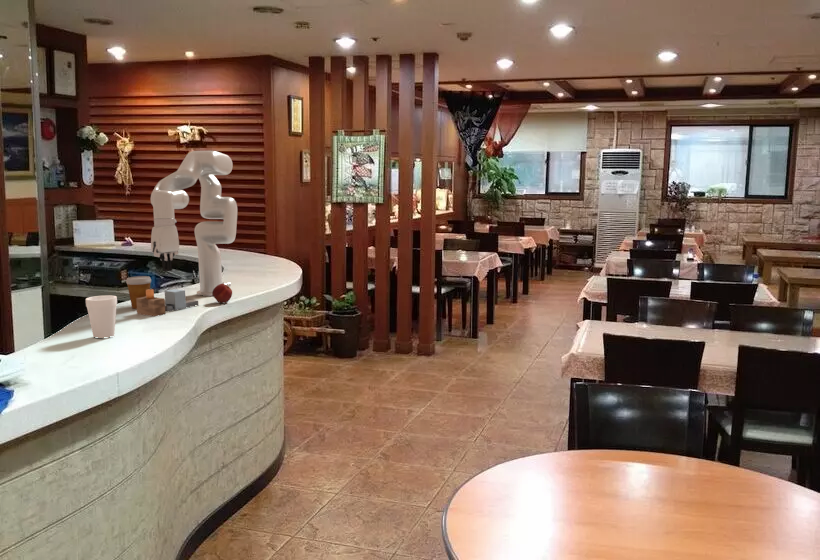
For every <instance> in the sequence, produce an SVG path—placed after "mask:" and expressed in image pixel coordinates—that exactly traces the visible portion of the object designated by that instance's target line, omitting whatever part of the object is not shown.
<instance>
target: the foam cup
mask: <svg viewBox="0 0 820 560" xmlns="http://www.w3.org/2000/svg"><path fill="white" fill-rule="evenodd" d="M117 298H118V297H117V296H116V295H111V294H110V295H109V294H108V295H95V296H90V297H86V298H85V307H86V309H87V313H88V318H89V322H90V327H91V331H92V335H93V338H94V337H98V338H104V337H110V336H114V337H115V331H116V317H117V316H116V314H117V305H118V299H117Z"/></svg>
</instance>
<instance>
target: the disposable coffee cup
mask: <svg viewBox="0 0 820 560" xmlns="http://www.w3.org/2000/svg"><path fill="white" fill-rule="evenodd" d="M125 283H126V284H127V289H128V294H129V299H130V304H131V308H132V309H134V310H137V302H136V298H140V297H146V290H147V289H151V283H152V279H151V277H150V276H149V275H148V276H147V275H136V276H131V277H130V276H129V277H127V278H126V281H125Z"/></svg>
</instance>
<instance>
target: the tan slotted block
mask: <svg viewBox="0 0 820 560" xmlns="http://www.w3.org/2000/svg"><path fill="white" fill-rule="evenodd" d="M136 302H137V309H136V312H137V313H136V314H137V315H143V316H150V317H157V316H158V315H159V316H163V314H164V315H166V311H165V297H164V298H163V297H155V296H154V299H150V300H148V299H146V297H140V298H136Z"/></svg>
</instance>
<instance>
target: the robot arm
mask: <svg viewBox="0 0 820 560" xmlns="http://www.w3.org/2000/svg"><path fill="white" fill-rule="evenodd" d="M233 165H234V164H233V161H232V157H230V156H229V155H228V154H225V153H222V152H219V151H216V150H192V151H189V152H188V153H187V154H186V156H185V157H184V159H183V160H182V162H181V163H180V166H179V167H178V168H177V170H176V171H174V172H173V173H171V174H169V175H167V176H165V177H164V178H162V179H160V180H159V181H158V182H157V183H156V185H155V186H154V189H153V190H152V191H151V194H150V204H151V205H152V207H153V208H152V209H153V223H154V224H153V227H152V229H151V234H150V235H151V236H150V237H151V238H150V247H151V248H150V250H151V251H150V252H152V253H153V257H156V258H159V259H160V261H161V264H162V271H163V272H172V269H173V268H172V261H173V259H174V257H175V256H176V255H179V250H180V240H179V233H178V229H177V228H178V227H177V226H176V223H177V219H176V218H175V210H181V209H184V208H186V207H187V206H188V204H189V202H190V196H189V195H188V193H187V192H186V191H185V190H186V189H189V188H190V187H193V186H194V185H195V184H196V183H197V181H198V180H199V183H200V187H201V188H200V203H199V204H200V205H199V212H200V216H201V217H202V218H204V219H207V220H208V219H209V220H223V221H201V222H199V223H197V224H196V225H195V226H194V236H195V237H194V238H195V242H196V246H197V255H198V257H197V258H198V273H199V274H198V276H199V290H197V291H196V295H197V296H200V295H203V296H204V297H211V296H212V297H213V295H212V292H213V289H214V288H215V287H216V286H217V285H219V284H225V285H227V286H228V287H230V288H231V282H223V270H222V254H221V251H220V248H219V247H218V246H217V245H219V244H222V245H223V244H225V245H226V244H227V245H229V244H232V243H233V242H235V239H236V235H237V224H238V223H237V222H238V204H237V201H236V200H235V198H233V197H231V196H222V184H221V183H220V181H219V180H218V178H217V177H216V176H227V175H229V174H230V173H231V172H232V170H233V168H234V167H233ZM184 189H185V190H184ZM203 296H202V297H203Z"/></svg>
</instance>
